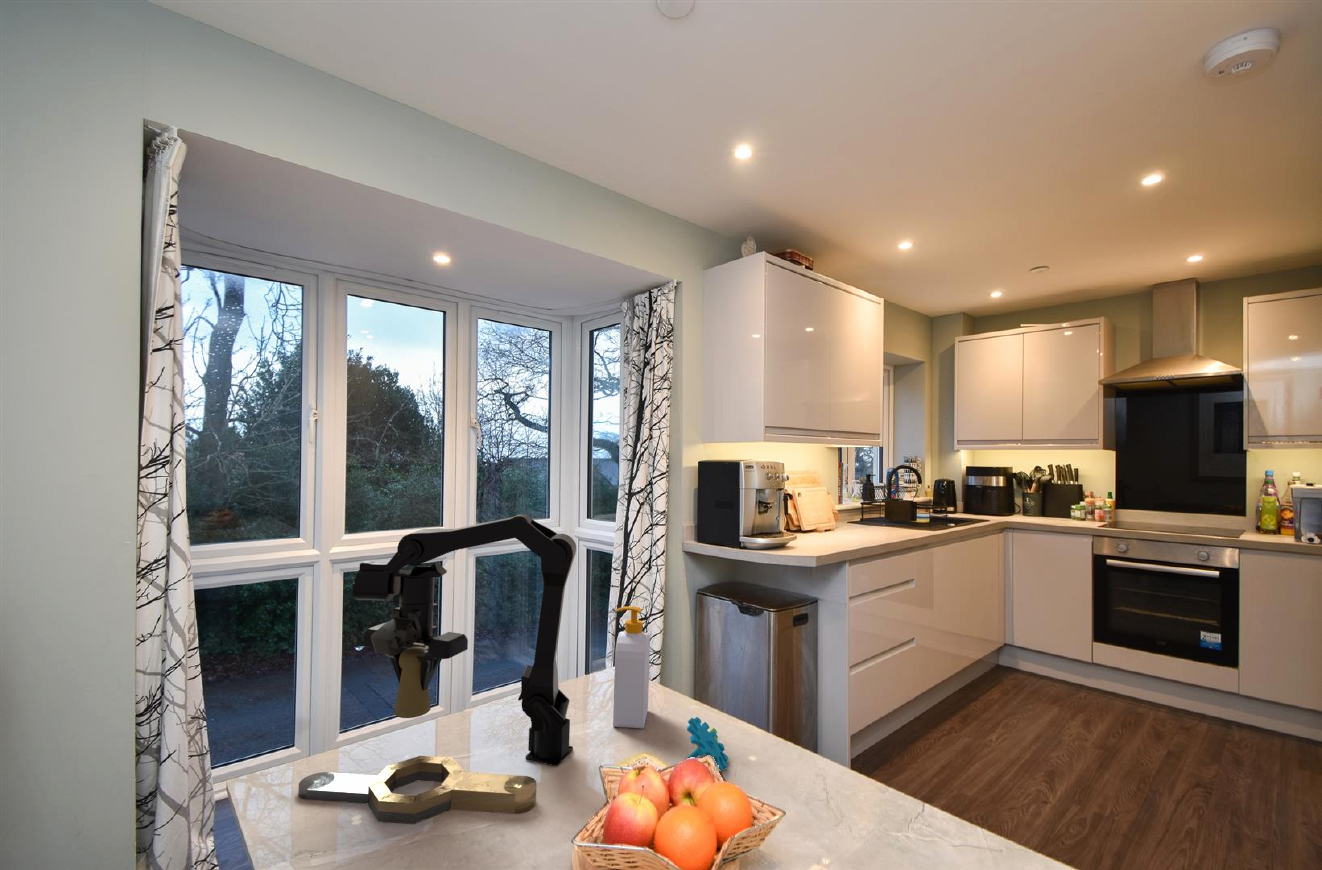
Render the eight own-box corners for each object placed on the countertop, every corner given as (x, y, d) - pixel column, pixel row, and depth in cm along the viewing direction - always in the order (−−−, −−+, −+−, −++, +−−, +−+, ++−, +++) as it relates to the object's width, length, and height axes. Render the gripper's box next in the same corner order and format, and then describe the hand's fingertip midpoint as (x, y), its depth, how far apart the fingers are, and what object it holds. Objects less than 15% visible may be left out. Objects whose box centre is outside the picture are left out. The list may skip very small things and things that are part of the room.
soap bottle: (615, 708, 127) (619, 601, 128) (648, 710, 127) (651, 603, 127) (608, 727, 118) (612, 612, 119) (643, 730, 118) (647, 614, 118)
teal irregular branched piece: (723, 775, 99) (686, 723, 103) (697, 797, 100) (661, 744, 103) (737, 754, 109) (703, 707, 113) (714, 773, 110) (680, 726, 114)
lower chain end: (472, 777, 99) (473, 768, 99) (439, 826, 86) (439, 815, 86) (327, 767, 101) (327, 758, 101) (272, 814, 88) (272, 804, 88)
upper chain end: (545, 781, 99) (546, 763, 99) (523, 832, 86) (523, 811, 86) (397, 772, 100) (398, 754, 100) (353, 820, 87) (354, 799, 87)
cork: (438, 707, 108) (440, 646, 108) (411, 721, 102) (413, 657, 102) (413, 700, 110) (416, 641, 110) (386, 713, 105) (389, 651, 105)
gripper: (339, 605, 102) (335, 697, 102) (428, 618, 96) (424, 715, 96) (388, 591, 113) (385, 674, 112) (471, 602, 107) (467, 689, 106)
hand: (413, 688), depth 106 cm, fingers closed on cork, 4 cm apart
